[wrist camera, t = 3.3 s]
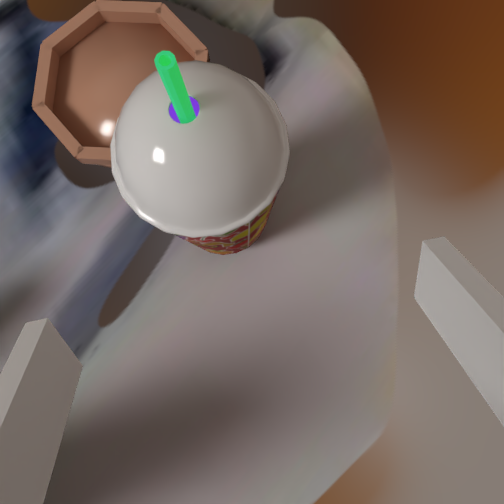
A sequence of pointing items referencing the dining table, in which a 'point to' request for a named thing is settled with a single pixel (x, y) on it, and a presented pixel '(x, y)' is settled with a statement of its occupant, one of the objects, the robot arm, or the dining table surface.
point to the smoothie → (200, 153)
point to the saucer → (103, 69)
